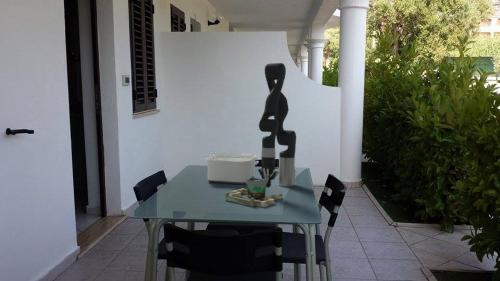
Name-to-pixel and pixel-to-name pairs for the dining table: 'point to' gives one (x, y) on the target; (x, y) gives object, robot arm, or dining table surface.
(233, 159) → the pot
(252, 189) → the food container
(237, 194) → the trap lane
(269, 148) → the robot arm
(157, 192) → the dining table surface
